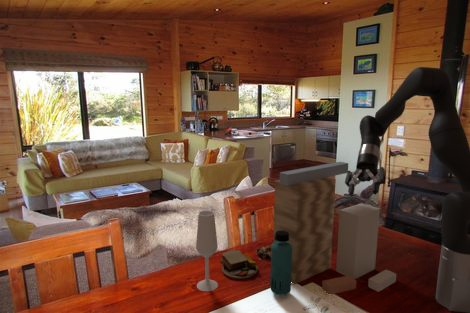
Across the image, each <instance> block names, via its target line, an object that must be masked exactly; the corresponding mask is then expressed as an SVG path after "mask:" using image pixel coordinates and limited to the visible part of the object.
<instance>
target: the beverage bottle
mask: <svg viewBox="0 0 470 313" xmlns="http://www.w3.org/2000/svg"><path fill="white" fill-rule="evenodd" d="M275 240H277V241H276V242H274V243H273V242H272V244H270V245H271V247H270V248H271V257H270V277H269V278H270V282H269V285H270V286H269V288H270V291H271V292H272V293H273V294H274V295H278V296H287V295H288V294H290V293H291V290H292V283H291V272H292V271H291V270H292V269H291V265H292V245H291V244H290V243H288V242H287V241H289V233H288V232H287V231H283V230H280V231H277V232H276V234H275Z"/></svg>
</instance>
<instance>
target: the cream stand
mask: <svg viewBox="0 0 470 313" xmlns="http://www.w3.org/2000/svg"><path fill="white" fill-rule="evenodd" d="M380 213H381V212H380V207H376V206H372V205H368V204H366V203H363V202H362V203H358V204H355V205H351V206H348V207H344V208H341V209H339V218H338V220H339V221H338V235H337V252H336V264H335V265H336V266H335V271H336V272H337V273H339V274H341V275H343V276H348V275H350V276H351V277H352V278H354V279H355V280H356V279H359V278H360V277H362V276H365V275H367V274H368V273H370V272H372V271H374V270H375V269H376V262H377V260H376V259H377V258H376V257H377V249H378V237H379V236H378V235H379V223H380V222H379V221H380Z"/></svg>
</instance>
